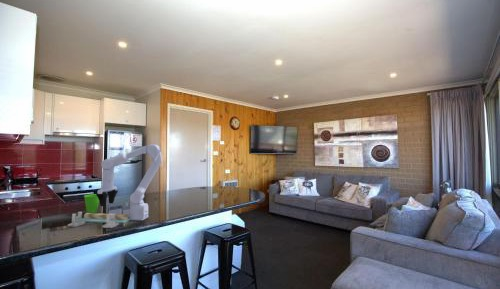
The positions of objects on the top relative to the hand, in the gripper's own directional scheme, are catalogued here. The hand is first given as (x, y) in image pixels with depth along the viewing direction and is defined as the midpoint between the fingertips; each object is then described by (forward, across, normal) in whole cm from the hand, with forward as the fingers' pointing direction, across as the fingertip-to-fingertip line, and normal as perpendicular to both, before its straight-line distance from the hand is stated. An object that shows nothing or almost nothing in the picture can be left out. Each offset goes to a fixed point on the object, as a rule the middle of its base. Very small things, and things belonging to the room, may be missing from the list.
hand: (107, 204), depth 139 cm
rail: (+8, 0, 0) cm, 8 cm away
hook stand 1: (+8, +11, -9) cm, 16 cm away
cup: (+9, -12, -17) cm, 23 cm away
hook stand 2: (+8, +11, +9) cm, 16 cm away
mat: (+8, 0, 0) cm, 8 cm away
